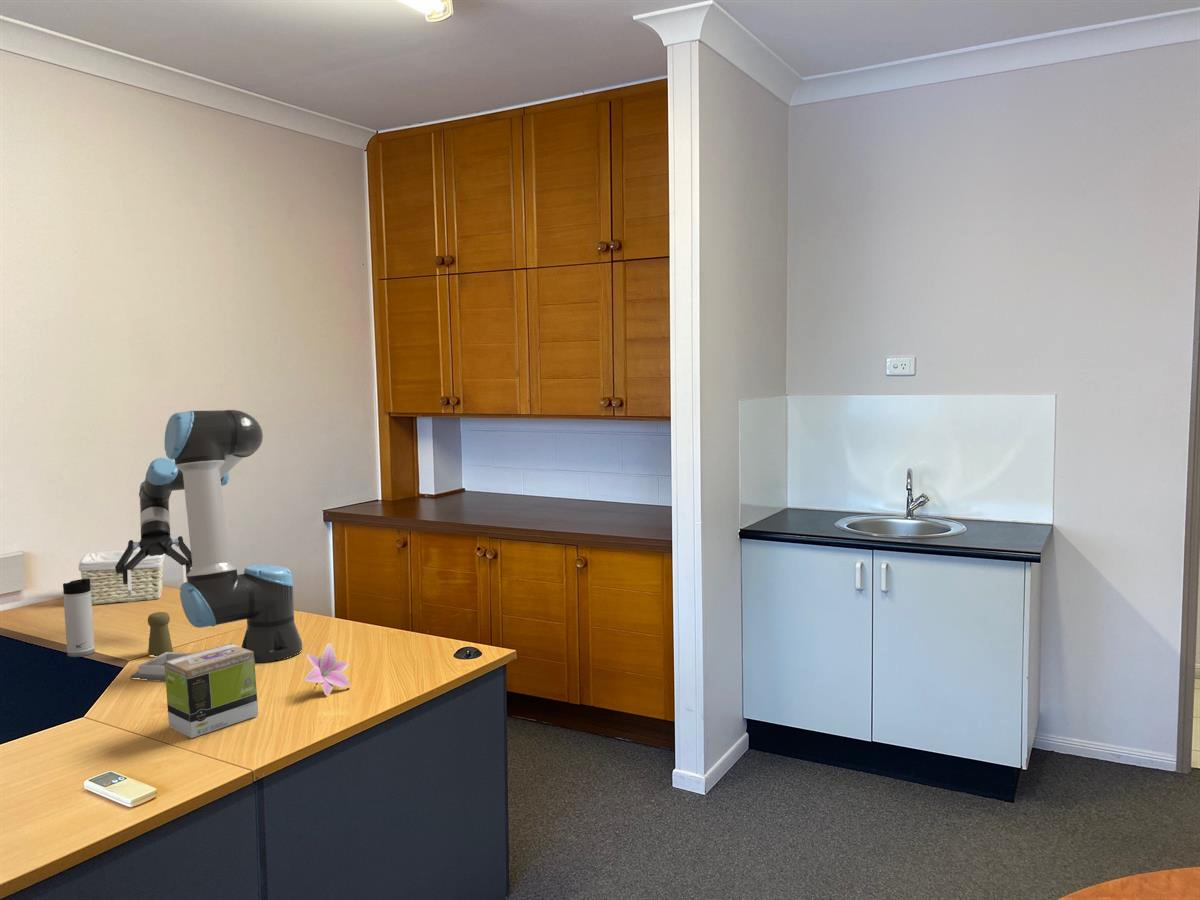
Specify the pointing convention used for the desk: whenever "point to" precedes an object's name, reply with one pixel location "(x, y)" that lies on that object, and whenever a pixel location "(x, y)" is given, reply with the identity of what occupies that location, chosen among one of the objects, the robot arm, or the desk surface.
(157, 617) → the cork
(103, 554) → the storage basket
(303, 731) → the desk surface
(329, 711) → the desk surface
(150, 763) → the desk surface
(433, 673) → the desk surface
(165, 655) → the grey square tray
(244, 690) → the tea box
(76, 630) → the travel mug
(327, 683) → the lily
